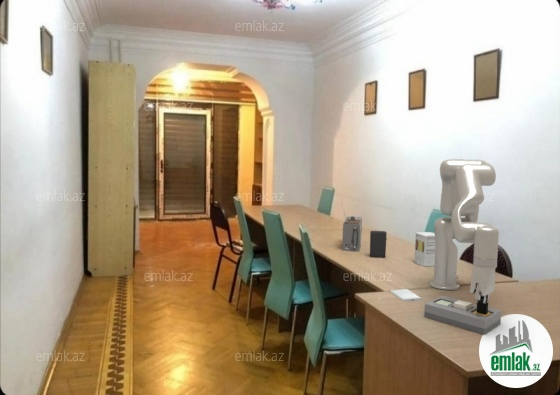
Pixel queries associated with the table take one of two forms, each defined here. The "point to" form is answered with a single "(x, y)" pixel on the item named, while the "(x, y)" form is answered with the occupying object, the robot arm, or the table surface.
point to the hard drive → (405, 295)
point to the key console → (462, 316)
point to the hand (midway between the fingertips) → (482, 313)
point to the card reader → (378, 244)
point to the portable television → (352, 233)
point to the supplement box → (425, 249)
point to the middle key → (462, 305)
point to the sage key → (444, 302)
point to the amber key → (482, 314)
